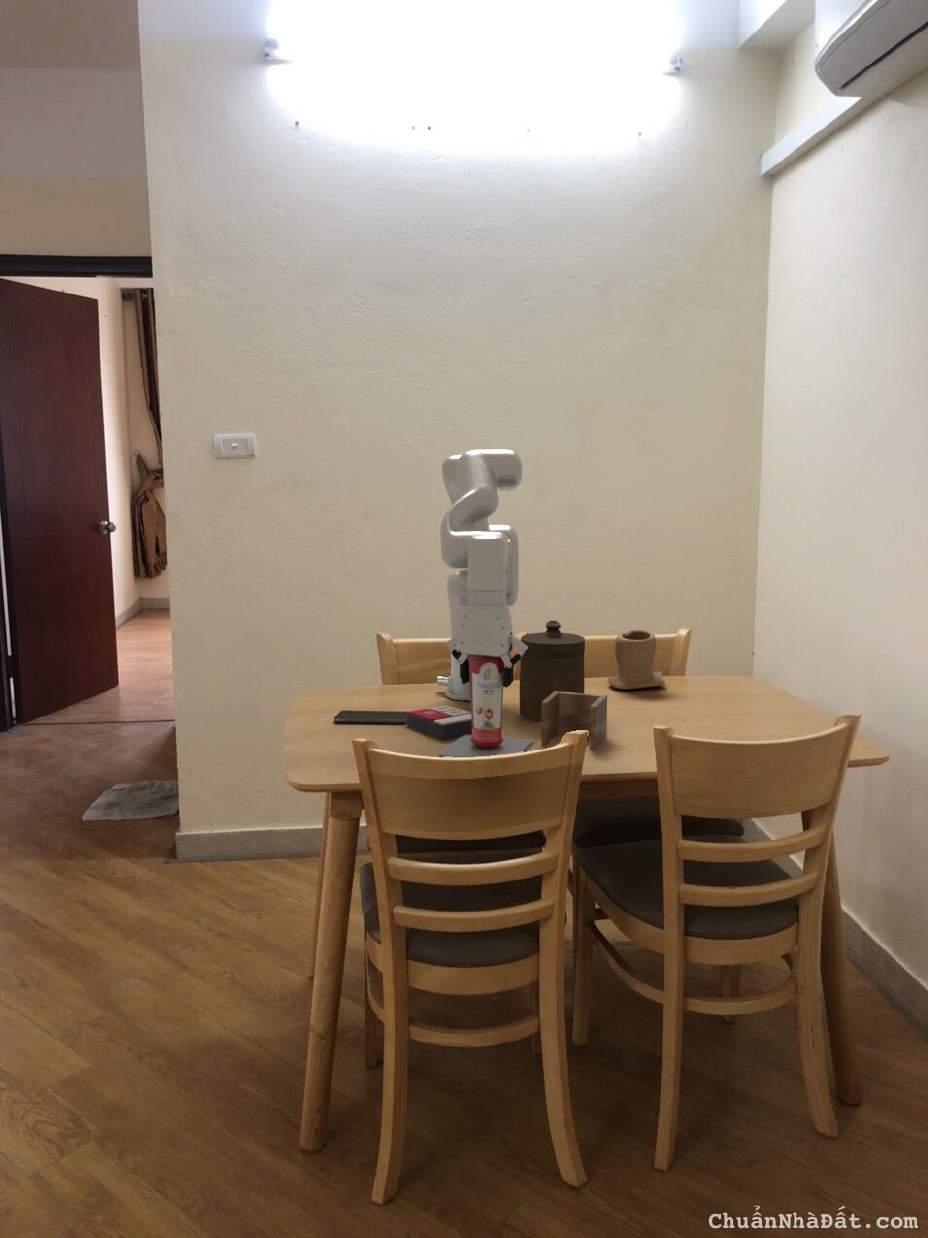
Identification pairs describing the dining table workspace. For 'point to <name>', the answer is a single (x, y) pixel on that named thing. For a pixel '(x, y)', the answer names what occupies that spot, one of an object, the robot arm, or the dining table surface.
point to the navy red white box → (441, 722)
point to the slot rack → (574, 716)
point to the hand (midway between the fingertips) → (486, 683)
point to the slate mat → (468, 749)
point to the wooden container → (549, 668)
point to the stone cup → (636, 661)
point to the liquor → (486, 700)
